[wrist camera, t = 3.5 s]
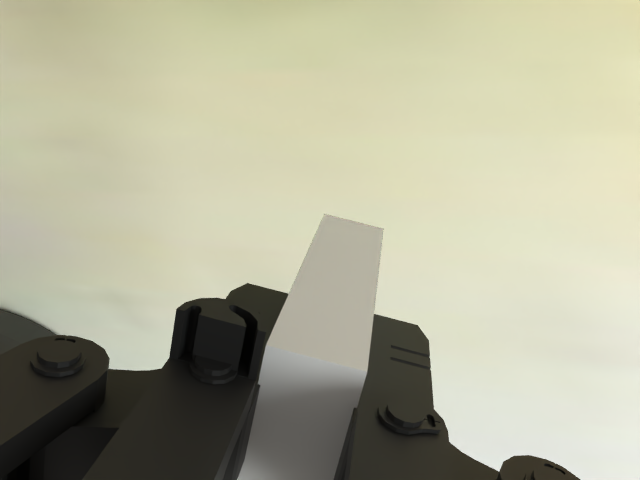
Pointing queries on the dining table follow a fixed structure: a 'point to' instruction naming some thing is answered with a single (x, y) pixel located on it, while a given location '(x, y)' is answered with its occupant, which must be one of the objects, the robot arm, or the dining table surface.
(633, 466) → the dining table surface
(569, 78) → the dining table surface
